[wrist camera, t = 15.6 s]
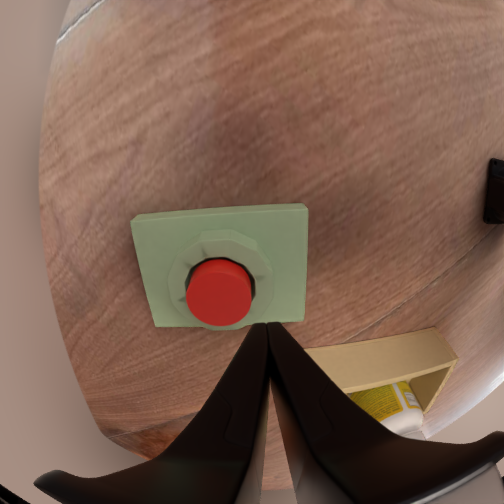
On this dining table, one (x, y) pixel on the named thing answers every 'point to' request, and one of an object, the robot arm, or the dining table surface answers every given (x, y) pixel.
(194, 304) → the button
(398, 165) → the dining table surface
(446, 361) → the wooden planter box
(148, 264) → the panel
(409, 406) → the pill bottle
